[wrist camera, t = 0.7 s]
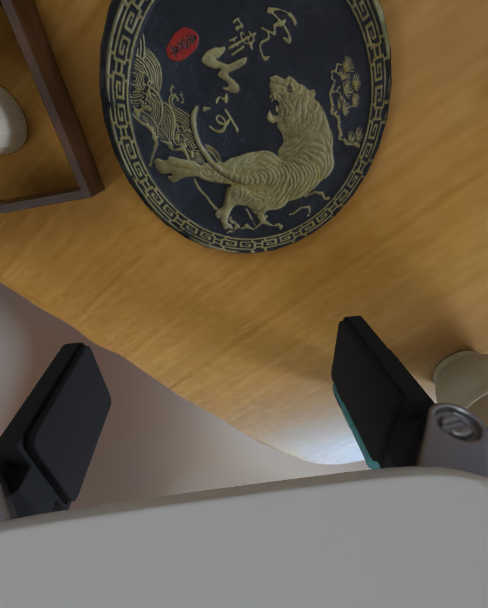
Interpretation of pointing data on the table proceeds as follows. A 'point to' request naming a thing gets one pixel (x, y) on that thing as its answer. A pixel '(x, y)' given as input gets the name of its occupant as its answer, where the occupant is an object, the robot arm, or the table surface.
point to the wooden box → (51, 109)
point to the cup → (11, 124)
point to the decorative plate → (245, 111)
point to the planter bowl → (464, 382)
